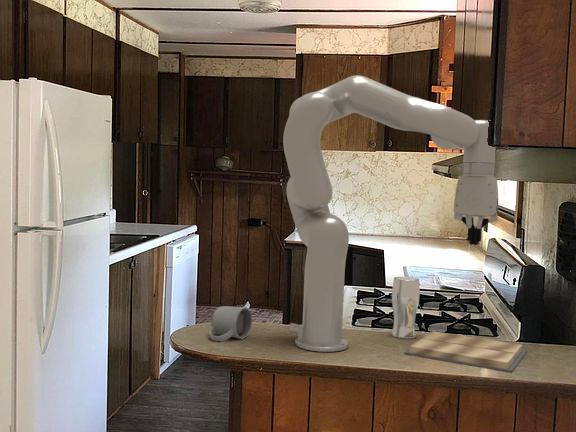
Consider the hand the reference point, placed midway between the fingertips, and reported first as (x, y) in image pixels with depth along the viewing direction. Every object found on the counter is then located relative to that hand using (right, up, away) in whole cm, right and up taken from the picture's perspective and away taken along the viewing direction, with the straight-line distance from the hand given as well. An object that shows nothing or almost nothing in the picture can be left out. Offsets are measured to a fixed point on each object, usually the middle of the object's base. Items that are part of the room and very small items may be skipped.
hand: (474, 244), depth 163 cm
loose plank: (-2, -25, -4) cm, 25 cm away
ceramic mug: (-61, -23, -2) cm, 65 cm away
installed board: (-6, -26, -12) cm, 29 cm away
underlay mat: (-4, -26, -8) cm, 27 cm away
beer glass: (-16, -24, +7) cm, 30 cm away
